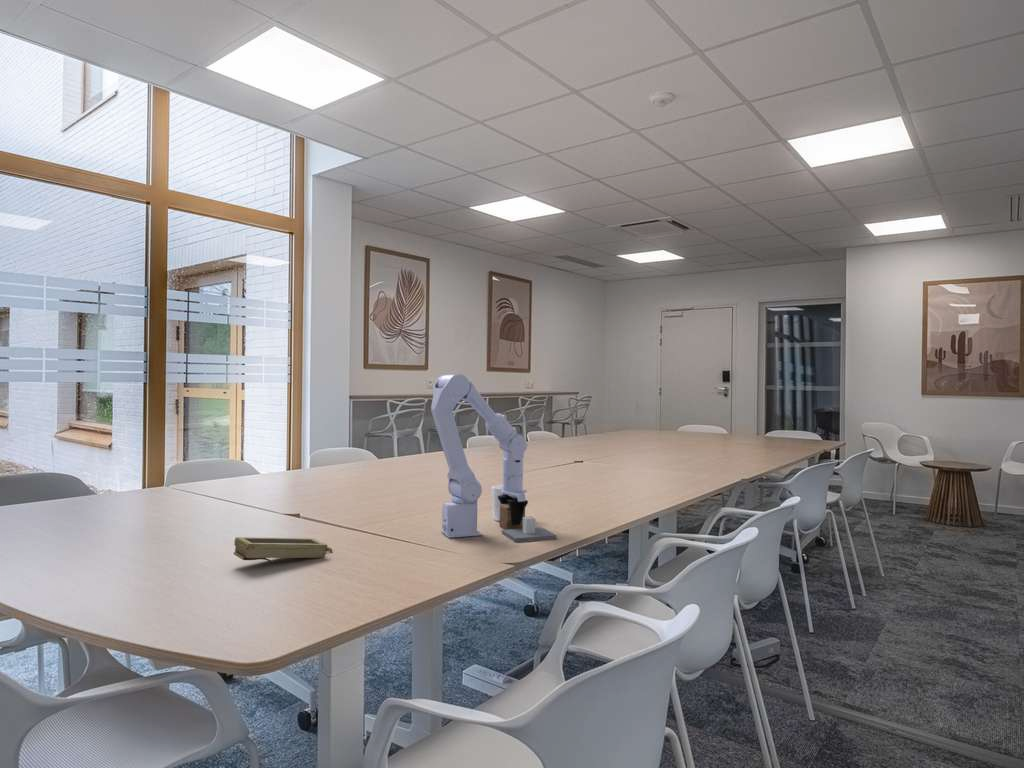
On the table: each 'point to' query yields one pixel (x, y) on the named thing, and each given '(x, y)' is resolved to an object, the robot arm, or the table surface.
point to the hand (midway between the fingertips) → (512, 522)
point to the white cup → (496, 501)
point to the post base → (529, 537)
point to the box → (279, 548)
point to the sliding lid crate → (508, 518)
